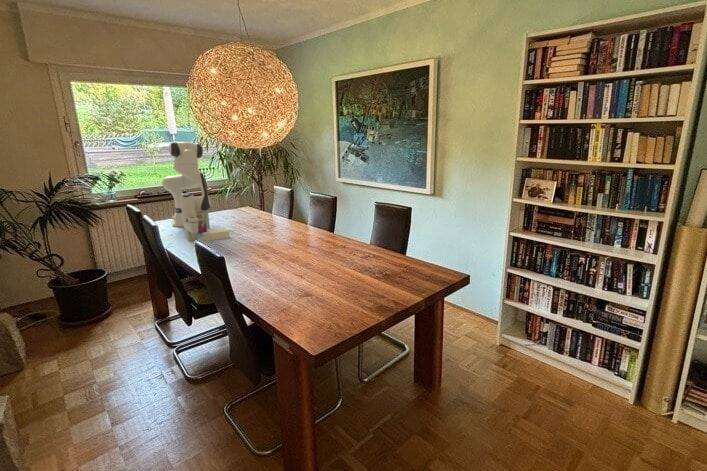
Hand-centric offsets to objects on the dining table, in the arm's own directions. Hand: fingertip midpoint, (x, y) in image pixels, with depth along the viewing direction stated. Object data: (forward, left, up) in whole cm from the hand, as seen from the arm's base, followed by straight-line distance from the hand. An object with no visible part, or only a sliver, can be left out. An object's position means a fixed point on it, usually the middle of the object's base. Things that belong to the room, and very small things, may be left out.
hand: (191, 237), depth 245 cm
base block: (+3, +17, -2) cm, 17 cm away
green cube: (0, 0, -2) cm, 2 cm away
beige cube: (+7, +8, -2) cm, 11 cm away
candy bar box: (-17, +12, -2) cm, 21 cm away
